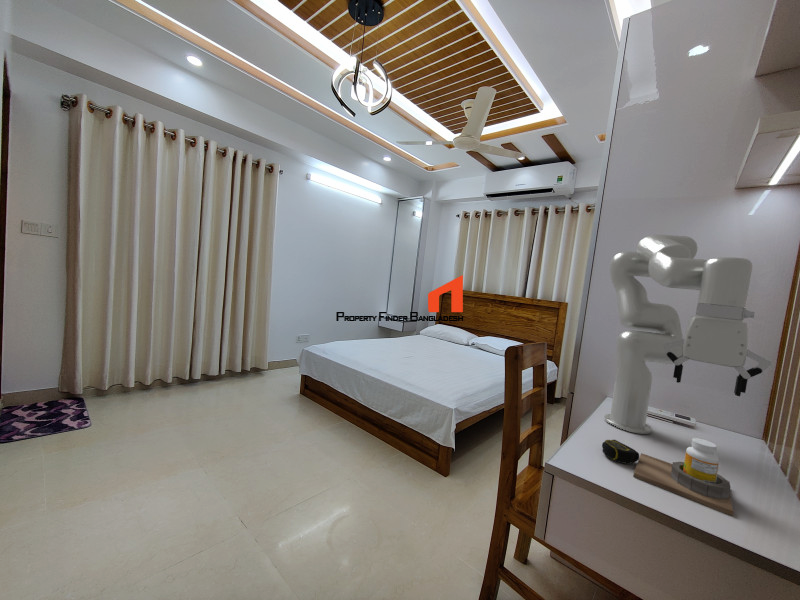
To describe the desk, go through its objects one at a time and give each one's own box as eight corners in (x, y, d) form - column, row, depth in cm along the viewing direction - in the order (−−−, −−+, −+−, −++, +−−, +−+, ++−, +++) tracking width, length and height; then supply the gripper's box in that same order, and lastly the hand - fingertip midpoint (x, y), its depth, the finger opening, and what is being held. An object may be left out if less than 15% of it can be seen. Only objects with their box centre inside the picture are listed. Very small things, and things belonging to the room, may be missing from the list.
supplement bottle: (684, 474, 75) (690, 434, 74) (716, 486, 71) (723, 444, 70) (679, 481, 72) (685, 439, 71) (712, 495, 67) (719, 451, 67)
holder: (640, 456, 84) (642, 443, 83) (727, 487, 73) (729, 473, 73) (633, 476, 73) (635, 462, 73) (732, 516, 62) (735, 499, 62)
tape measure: (639, 465, 79) (642, 451, 79) (619, 467, 77) (622, 453, 77) (614, 451, 86) (616, 437, 86) (595, 452, 84) (596, 438, 83)
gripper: (775, 319, 67) (760, 397, 69) (669, 308, 79) (658, 374, 80) (782, 320, 62) (766, 405, 63) (667, 308, 74) (656, 379, 75)
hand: (706, 387), depth 72 cm, fingers open, 9 cm apart
